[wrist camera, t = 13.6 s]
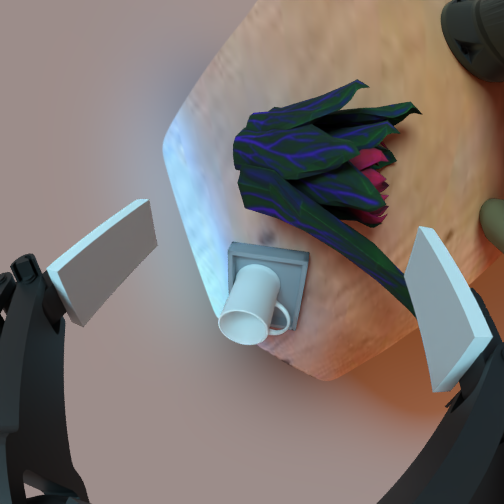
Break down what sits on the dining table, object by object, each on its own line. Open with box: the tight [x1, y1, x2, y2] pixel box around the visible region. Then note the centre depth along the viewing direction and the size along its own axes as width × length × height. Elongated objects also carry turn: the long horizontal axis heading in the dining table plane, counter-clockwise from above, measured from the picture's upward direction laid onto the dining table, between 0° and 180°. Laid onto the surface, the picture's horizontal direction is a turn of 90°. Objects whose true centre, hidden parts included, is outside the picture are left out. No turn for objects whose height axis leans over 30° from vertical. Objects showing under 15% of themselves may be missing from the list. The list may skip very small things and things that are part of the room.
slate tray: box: [228, 242, 309, 330], centre depth 51 cm, size 14×17×3 cm
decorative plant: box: [233, 79, 423, 319], centre depth 30 cm, size 21×26×30 cm
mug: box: [218, 264, 290, 345], centre depth 47 cm, size 12×8×12 cm
